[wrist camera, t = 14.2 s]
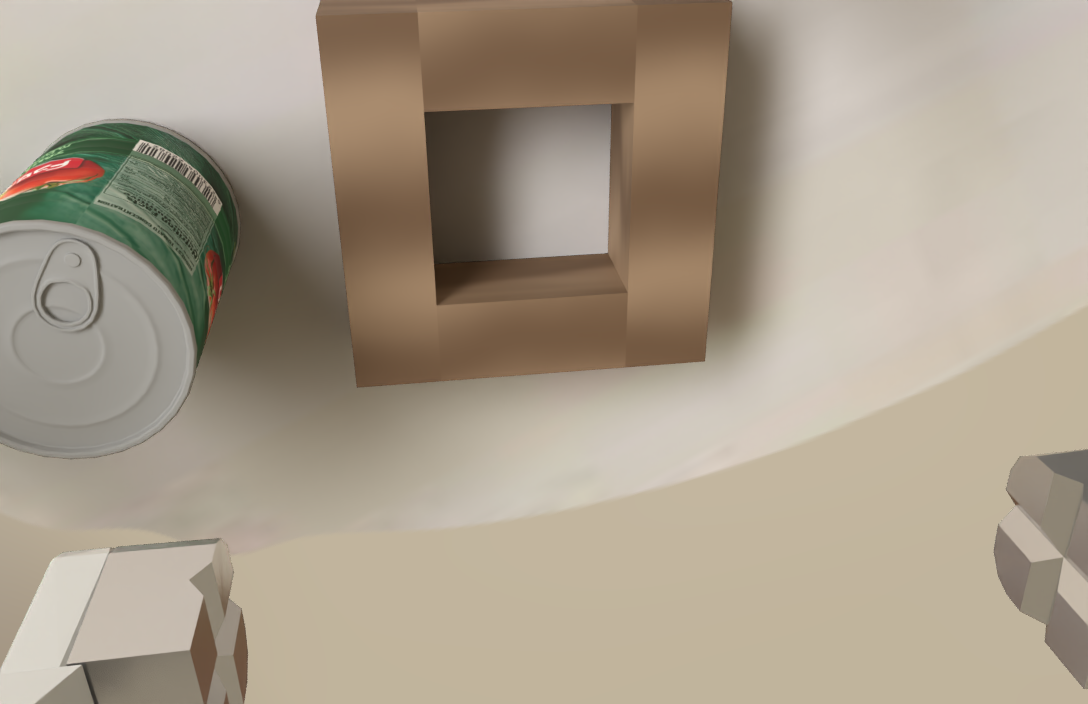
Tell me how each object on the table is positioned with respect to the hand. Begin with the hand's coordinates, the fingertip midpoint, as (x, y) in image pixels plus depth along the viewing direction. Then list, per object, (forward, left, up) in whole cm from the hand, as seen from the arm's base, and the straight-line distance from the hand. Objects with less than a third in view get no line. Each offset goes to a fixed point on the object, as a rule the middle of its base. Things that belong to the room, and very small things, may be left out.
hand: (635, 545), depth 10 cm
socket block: (+6, +2, -31) cm, 31 cm away
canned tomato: (+7, -13, -31) cm, 34 cm away
